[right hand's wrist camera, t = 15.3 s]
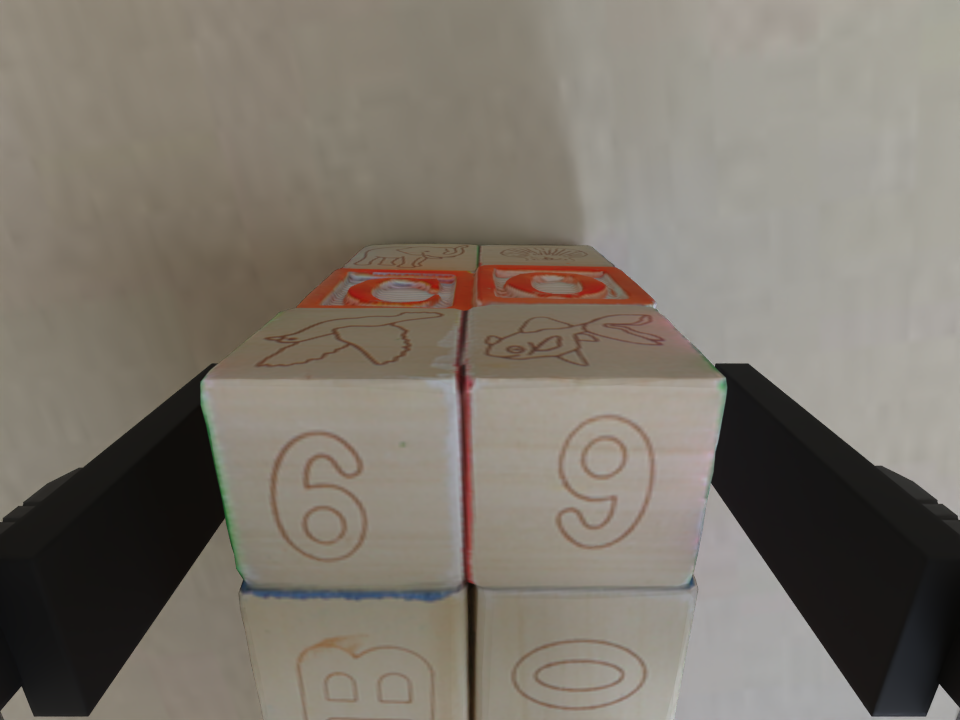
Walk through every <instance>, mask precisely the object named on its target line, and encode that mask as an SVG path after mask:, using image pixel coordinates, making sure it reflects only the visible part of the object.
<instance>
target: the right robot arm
mask: <svg viewBox="0 0 960 720" xmlns="http://www.w3.org/2000/svg"><path fill="white" fill-rule="evenodd" d="M216 365H217V364H211V365H209V366H208V367H207V368H206V369H205V370H203V371H202V372H201V373H200V374H198V375H197V376H196V377H195V378H193V379H192V380H191V381H190V382H188V383H187V384H186V385H185V386H183V387H182V388H181V389H180V390H179V391H177V392H176V393H175V394H174V395H172V396H171V397H170V398H169V399H167V400H166V401H165V402H164V403H162V404H161V405H160V406H159V407H157V408H156V409H155V410H154V411H153V412H151V413H150V414H149V415H148V416H146V417H145V418H144V419H143V420H141V421H140V422H139V423H138V424H136V425H135V426H134V427H133V428H131V429H130V430H129V431H128V432H127V433H125V434H124V435H123V436H122V437H120V438H119V439H118V440H117V441H115V442H114V443H113V444H112V445H110V446H109V447H108V448H107V449H106V450H104V451H103V452H102V453H101V454H99V455H98V456H97V457H96V458H94V459H93V460H92V461H91V462H89V463H88V464H87V465H86V466H84V467H83V468H78V469H76V470H74V471H72V472H70V473H68V474H66V475H64V476H62V477H60V478H58V479H56V480H54V481H52V482H50V483H48V484H46V485H45V486H44V487H42V488H41V489H40V490H39V491H37V492H36V493H35V494H33V495H32V496H31V497H30V498H28V499H27V500H26V501H24V502H23V506H18V507H17V508H15V509H14V510H13V511H12V512H10V513H9V514H8V515H6V516H5V517H4V518H3V522H0V711H1V710H2V708H3V707H4V706H5V705H6V704H7V702H8V701H9V700H10V699H11V698H12V697H13V695H14V694H15V693H16V692H17V691H18V690H19V688H20V687H21V686H22V688H23V691H24V693H25V695H26V698H27V700H28V703H29V705H30V708H31V710H32V713H33V715H34V716H89V715H90V713H91V712H92V710H93V709H94V707H95V706H96V705H97V703H98V702H99V700H100V699H101V697H102V696H103V694H104V693H105V691H106V690H107V689H108V687H109V686H110V684H111V683H112V681H113V680H114V678H115V677H116V675H117V674H118V673H119V671H120V670H121V668H122V667H123V665H124V664H125V662H126V661H127V659H128V658H129V657H130V655H131V654H132V652H133V651H134V649H135V648H136V646H137V645H138V643H139V642H140V641H141V639H142V638H143V636H144V635H145V633H146V632H147V630H148V629H149V627H150V626H151V625H152V623H153V622H154V620H155V619H156V617H157V616H158V614H159V613H160V611H161V610H162V609H163V607H164V606H165V604H166V603H167V601H168V600H169V598H170V597H171V595H172V594H173V593H174V591H175V590H176V588H177V587H178V585H179V584H180V582H181V581H182V579H183V578H184V577H185V575H186V574H187V572H188V571H189V569H190V568H191V566H192V565H193V564H194V562H195V561H196V559H197V558H198V556H199V555H200V553H201V552H202V550H203V549H204V548H205V546H206V545H207V543H208V542H209V540H210V539H211V537H212V536H213V534H214V533H215V532H216V530H217V529H218V527H219V526H220V524H221V523H222V521H223V520H224V518H225V513H224V508H223V502H222V497H221V492H220V488H219V483H218V479H217V474H216V470H215V465H214V460H213V456H212V451H211V446H210V441H209V436H208V432H207V427H206V423H205V419H204V415H203V412H202V408H201V391H200V382H201V380H202V379H203V378H204V377H205V376H206V375H207V373H208V372H209V371H210V370H211V369H212V368H213V367H215V366H216ZM715 368H716V369H717V370H718V371H719V372H720V373H721V374H722V375H723V376H724V377H726V382H727V394H726V401H725V406H724V412H723V417H722V423H721V429H720V434H719V440H718V444H717V447H716V451H715V461H714V471H713V476H712V480H711V484H712V485H713V486H714V488H715V489H716V491H717V492H718V494H719V495H720V497H721V498H722V500H723V501H724V502H725V504H726V505H727V507H728V508H729V510H730V511H731V513H732V514H733V516H734V517H735V518H736V520H737V521H738V523H739V524H740V526H741V527H742V529H743V530H744V532H745V533H746V534H747V536H748V537H749V539H750V540H751V542H752V543H753V545H754V546H755V548H756V549H757V550H758V552H759V553H760V555H761V556H762V558H763V559H764V561H765V562H766V564H767V565H768V566H769V568H770V569H771V571H772V572H773V574H774V575H775V577H776V578H777V580H778V581H779V582H780V584H781V585H782V587H783V588H784V590H785V591H786V593H787V594H788V596H789V597H790V598H791V600H792V601H793V603H794V604H795V606H796V607H797V609H798V610H799V612H800V613H801V614H802V616H803V617H804V619H805V620H806V622H807V623H808V625H809V626H810V627H811V629H812V630H813V632H814V633H815V635H816V636H817V638H818V639H819V641H820V642H821V643H822V645H823V646H824V648H825V649H826V651H827V652H828V654H829V655H830V657H831V658H832V659H833V661H834V662H835V664H836V665H837V667H838V668H839V670H840V671H841V673H842V674H843V675H844V677H845V678H846V680H847V681H848V683H849V684H850V686H851V687H852V689H853V690H854V691H855V693H856V694H857V696H858V697H859V699H860V700H861V702H862V703H863V705H864V706H865V707H866V709H867V710H868V712H869V713H870V715H871V716H926V715H927V713H928V710H929V708H930V705H931V703H932V700H933V698H934V695H935V693H936V690H937V688H938V686H939V684H940V685H941V686H942V688H943V689H944V690H945V691H946V692H947V693H948V695H949V696H950V697H951V698H952V699H953V700H954V702H955V703H956V704H957V705H958V706H959V707H960V520H958V516H957V515H956V514H955V513H953V512H952V511H951V510H949V509H948V508H947V507H946V506H944V505H943V504H938V502H937V500H936V499H935V498H934V497H933V496H931V495H930V494H929V493H927V492H926V491H925V490H924V489H922V488H921V487H920V486H918V485H917V484H916V483H914V482H913V481H911V480H909V479H907V478H905V477H903V476H901V475H899V474H897V473H895V472H893V471H891V470H889V469H887V468H885V467H883V466H874V465H873V464H872V463H871V462H869V461H868V460H867V459H866V458H864V457H863V456H862V455H861V454H859V453H858V452H857V451H856V450H854V449H853V448H852V447H851V446H850V445H848V444H847V443H846V442H845V441H843V440H842V439H841V438H840V437H838V436H837V435H836V434H835V433H833V432H832V431H831V430H830V429H828V428H827V427H826V426H825V425H824V424H822V423H821V422H820V421H819V420H817V419H816V418H815V417H814V416H812V415H811V414H810V413H809V412H807V411H806V410H805V409H804V408H803V407H801V406H800V405H799V404H798V403H796V402H795V401H794V400H793V399H791V398H790V397H789V396H788V395H786V394H785V393H784V392H783V391H781V390H780V389H779V388H778V387H777V386H775V385H774V384H773V383H772V382H770V381H769V380H768V379H767V378H765V377H764V376H763V375H762V374H760V373H759V372H758V371H757V370H755V369H754V368H753V367H752V366H751V365H749V364H715ZM0 720H4V719H3V716H2V714H1V712H0ZM956 720H960V712H959V714H958V716H957V719H956Z"/></svg>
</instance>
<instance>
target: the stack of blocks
mask: <svg viewBox="0 0 960 720" xmlns="http://www.w3.org/2000/svg"><path fill="white" fill-rule="evenodd" d="M200 391H201V408H202V412H203V415H204V419H205V423H206V427H207V432H208V436H209V441H210V446H211V451H212V456H213V460H214V465H215V470H216V474H217V479H218V483H219V488H220V492H221V497H222V502H223V508H224V513H225V519H226V525H227V529H228V533H229V538H230V542H231V546H232V549H233V552H234V556H235V563H236V569H237V570H238V572H239V574H240V575H241V577H242V578H243V582H242V585H241V588H240V591H239V602H240V611H241V615H242V619H243V624H244V628H245V632H246V638H247V643H248V649H249V654H250V660H251V665H252V669H253V674H254V678H255V683H256V687H257V692H258V696H259V701H260V705H261V710H262V716H263V720H674V718H675V713H676V707H677V702H678V697H679V691H680V686H681V681H682V675H683V670H684V665H685V659H686V654H687V648H688V643H689V637H690V632H691V626H692V621H693V615H694V610H695V604H696V599H697V593H698V587H697V583H696V579H695V577H694V575H693V572H694V568H695V564H696V559H697V555H698V550H699V545H700V539H701V534H702V529H703V523H704V516H705V509H706V503H707V498H708V494H709V489H710V484H711V480H712V476H713V471H714V461H715V451H716V447H717V444H718V440H719V434H720V429H721V423H722V417H723V412H724V406H725V401H726V394H727V382H726V377H724V376H723V375H722V374H721V373H720V372H719V371H718V370H717V369H716V368H715V367H714V366H713V365H712V364H711V363H710V362H709V360H708V359H707V358H706V357H705V356H704V355H703V354H702V353H701V352H700V351H699V350H698V349H697V348H696V347H695V346H694V345H693V344H692V343H691V342H690V341H689V340H688V339H686V338H685V337H684V336H683V335H682V334H681V333H680V332H679V331H678V330H677V329H676V328H675V327H674V326H673V325H672V324H671V323H670V321H669V320H667V319H666V318H665V317H664V316H663V315H661V314H660V313H659V312H658V311H657V310H656V302H655V301H654V299H653V298H652V297H651V296H649V295H648V294H647V293H646V292H645V291H644V290H643V289H642V288H641V287H640V286H639V285H638V284H636V283H635V282H634V281H633V280H632V279H631V278H629V277H628V276H627V275H626V274H625V273H624V272H623V271H621V270H620V269H618V268H615V266H614V265H613V264H612V263H611V262H609V261H608V260H607V259H606V258H605V257H604V256H603V255H601V254H600V253H598V252H597V251H596V250H595V249H594V248H593V247H591V246H588V245H585V246H547V245H482V246H479V245H470V244H386V245H370V246H367V247H364V248H363V249H361V250H360V251H359V252H358V253H357V254H356V255H354V256H353V257H352V258H351V259H350V261H349V262H348V263H347V264H345V266H344V267H343V268H340V269H337V270H335V271H334V272H332V274H331V275H330V276H329V277H327V278H326V279H325V280H324V281H323V282H322V283H321V284H320V285H319V286H318V287H316V288H315V289H314V290H313V291H312V292H311V293H309V294H308V295H307V296H306V297H305V298H304V299H303V301H302V302H301V303H300V304H299V305H298V306H297V307H296V308H294V309H288V310H285V311H281V312H279V313H278V314H277V315H276V316H275V317H274V318H273V319H272V320H270V321H269V322H268V323H267V324H265V325H264V326H263V327H262V328H261V329H260V330H258V331H257V332H256V333H255V334H253V335H252V336H251V337H250V338H248V339H247V340H246V341H245V342H244V343H242V344H241V345H240V346H239V347H238V348H237V349H236V350H234V351H233V352H232V353H231V354H229V355H228V356H227V357H226V358H224V359H223V360H222V361H221V362H220V363H218V364H217V365H216V366H215V367H213V368H212V369H211V370H210V371H209V372H208V373H207V375H206V376H205V377H204V378H203V379H202V380H201V382H200Z"/></svg>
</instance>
